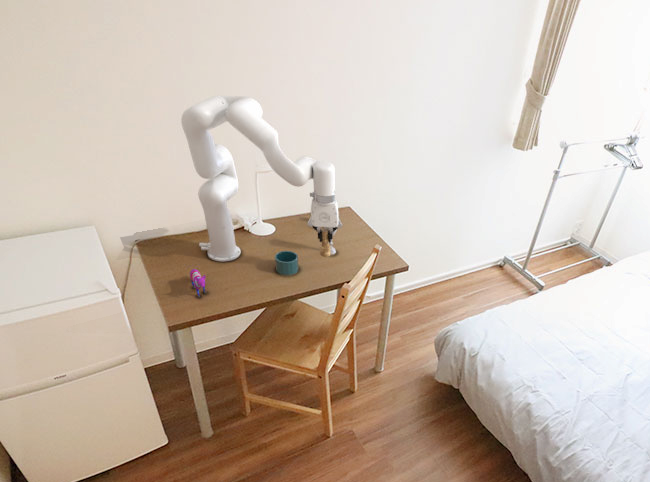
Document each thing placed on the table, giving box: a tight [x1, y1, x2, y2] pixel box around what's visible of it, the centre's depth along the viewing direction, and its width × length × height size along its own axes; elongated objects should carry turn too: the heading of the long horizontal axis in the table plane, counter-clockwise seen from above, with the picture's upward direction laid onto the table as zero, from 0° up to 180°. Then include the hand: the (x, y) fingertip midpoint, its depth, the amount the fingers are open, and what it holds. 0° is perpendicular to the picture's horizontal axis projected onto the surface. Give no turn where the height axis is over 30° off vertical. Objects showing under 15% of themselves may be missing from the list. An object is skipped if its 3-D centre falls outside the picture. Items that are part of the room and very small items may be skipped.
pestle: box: [319, 227, 332, 258], centre depth 180 cm, size 4×4×11 cm
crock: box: [274, 250, 299, 276], centre depth 186 cm, size 9×9×6 cm
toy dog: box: [189, 268, 207, 299], centre depth 167 cm, size 4×18×10 cm, turn 37°
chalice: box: [323, 214, 340, 255], centre depth 197 cm, size 7×7×18 cm
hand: (325, 240), depth 180 cm, fingers closed on pestle, 2 cm apart
